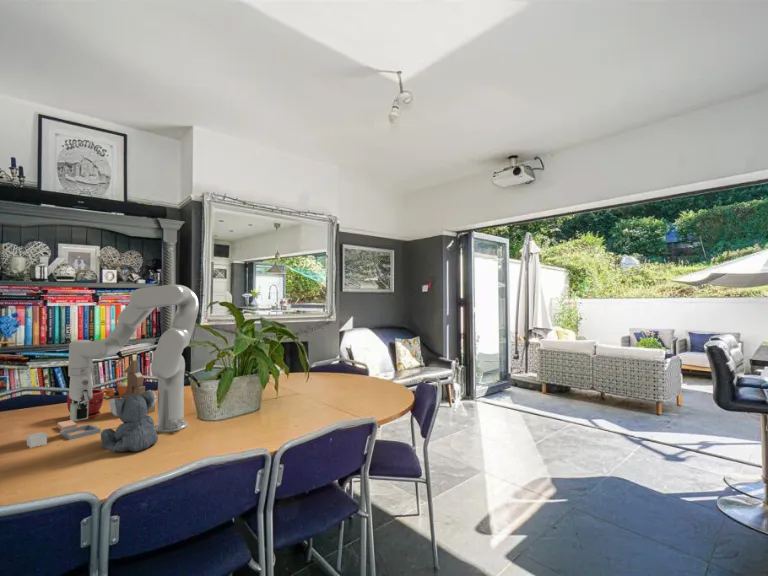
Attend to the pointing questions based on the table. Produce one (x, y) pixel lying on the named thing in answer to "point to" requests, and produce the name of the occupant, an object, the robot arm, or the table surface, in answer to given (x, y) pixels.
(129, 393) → the wooden toy
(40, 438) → the cream cube
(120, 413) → the koala plush
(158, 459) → the table surface
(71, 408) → the sage block
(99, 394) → the plant pot
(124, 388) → the toy tea set
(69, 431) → the grey tray
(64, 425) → the terracotta brick
